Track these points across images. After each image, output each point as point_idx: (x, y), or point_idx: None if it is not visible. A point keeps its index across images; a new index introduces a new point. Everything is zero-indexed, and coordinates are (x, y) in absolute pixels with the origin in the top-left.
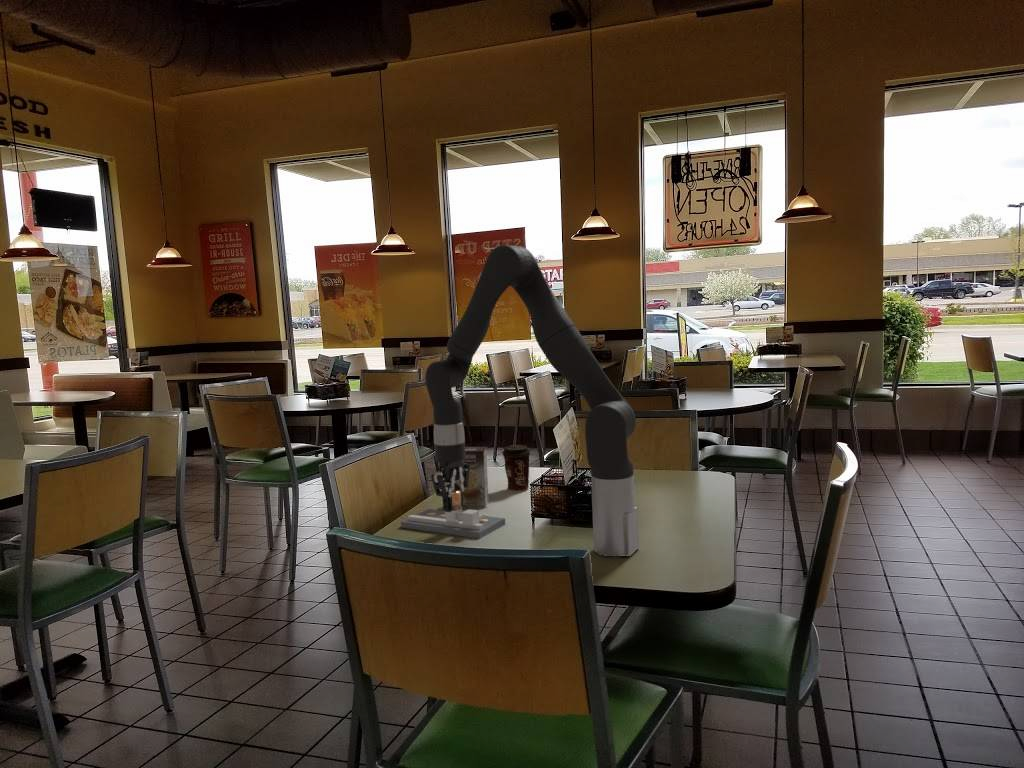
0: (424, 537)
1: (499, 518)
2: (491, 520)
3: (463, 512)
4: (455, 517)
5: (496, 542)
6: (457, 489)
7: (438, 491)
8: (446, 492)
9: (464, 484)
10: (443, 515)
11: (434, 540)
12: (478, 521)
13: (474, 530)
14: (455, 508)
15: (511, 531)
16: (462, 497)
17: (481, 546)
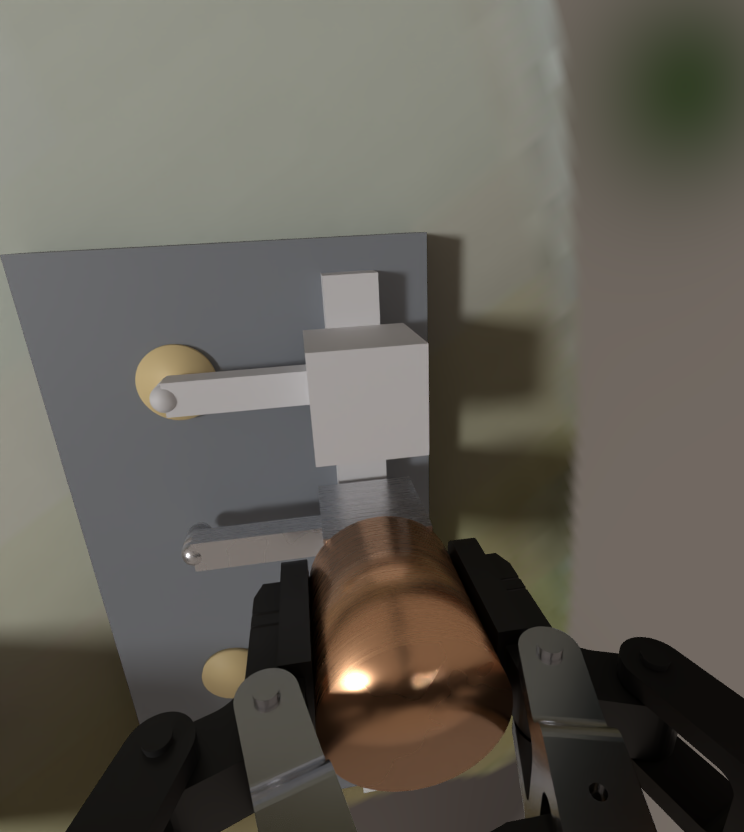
0: (515, 552)
1: (35, 302)
2: (125, 331)
3: (416, 448)
4: (417, 495)
5: (440, 45)
6: (327, 726)
7: (669, 756)
8: (646, 678)
9: (188, 766)
10: (237, 678)
11: (541, 474)
12: (318, 331)
13: (400, 301)
14: (430, 536)
15: (150, 81)
16: (283, 616)
17: (553, 112)
